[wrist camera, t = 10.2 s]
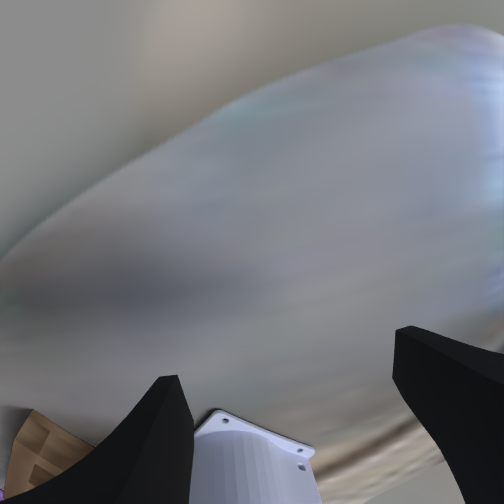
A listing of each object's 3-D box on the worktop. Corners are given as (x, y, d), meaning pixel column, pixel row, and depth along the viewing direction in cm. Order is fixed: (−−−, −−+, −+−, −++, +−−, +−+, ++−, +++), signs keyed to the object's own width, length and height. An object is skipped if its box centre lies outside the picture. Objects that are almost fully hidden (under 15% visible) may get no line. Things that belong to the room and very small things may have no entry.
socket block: (124, 463, 22) (116, 497, 18) (79, 513, 24) (72, 537, 20) (33, 409, 20) (14, 439, 16) (13, 475, 22) (2, 497, 18)
